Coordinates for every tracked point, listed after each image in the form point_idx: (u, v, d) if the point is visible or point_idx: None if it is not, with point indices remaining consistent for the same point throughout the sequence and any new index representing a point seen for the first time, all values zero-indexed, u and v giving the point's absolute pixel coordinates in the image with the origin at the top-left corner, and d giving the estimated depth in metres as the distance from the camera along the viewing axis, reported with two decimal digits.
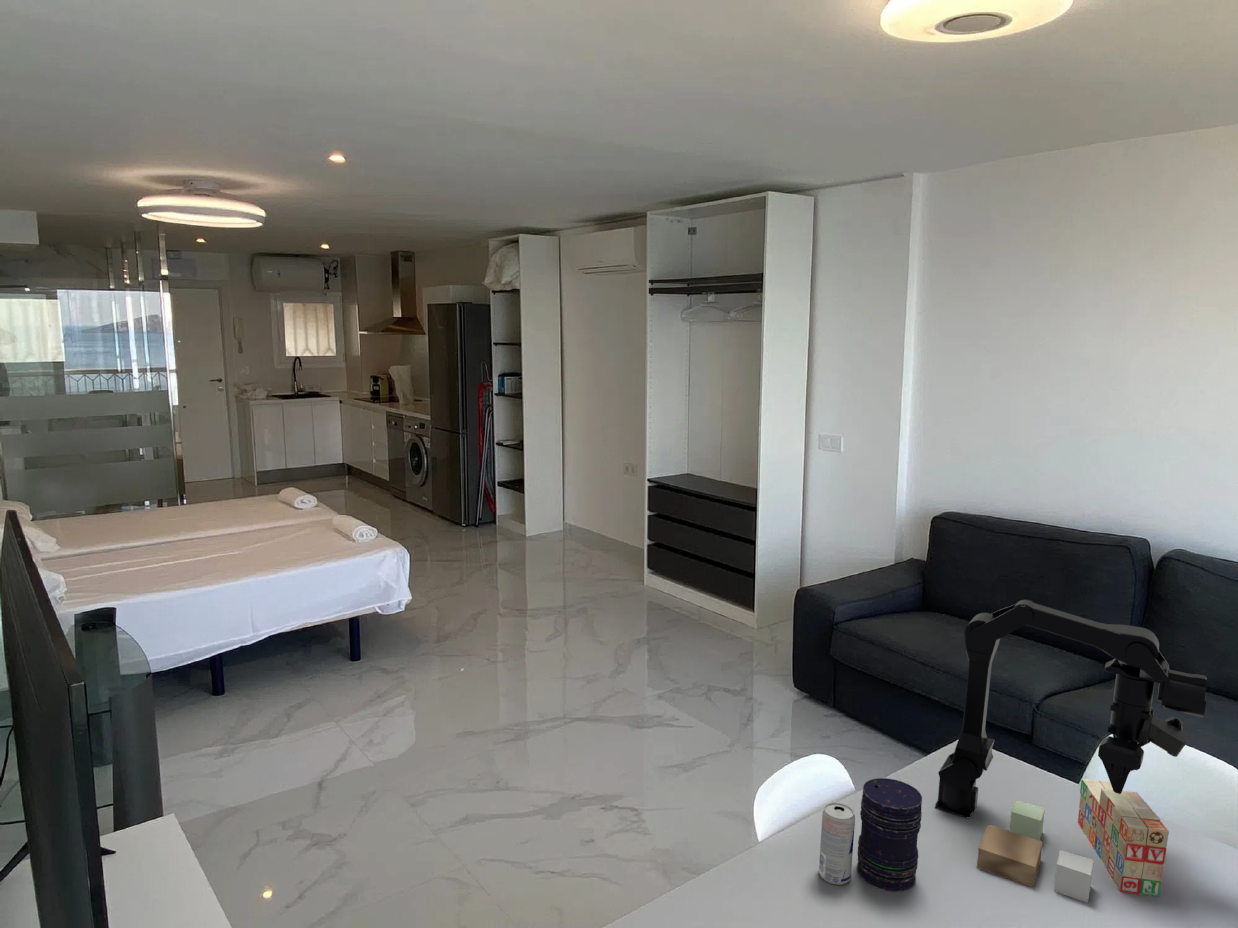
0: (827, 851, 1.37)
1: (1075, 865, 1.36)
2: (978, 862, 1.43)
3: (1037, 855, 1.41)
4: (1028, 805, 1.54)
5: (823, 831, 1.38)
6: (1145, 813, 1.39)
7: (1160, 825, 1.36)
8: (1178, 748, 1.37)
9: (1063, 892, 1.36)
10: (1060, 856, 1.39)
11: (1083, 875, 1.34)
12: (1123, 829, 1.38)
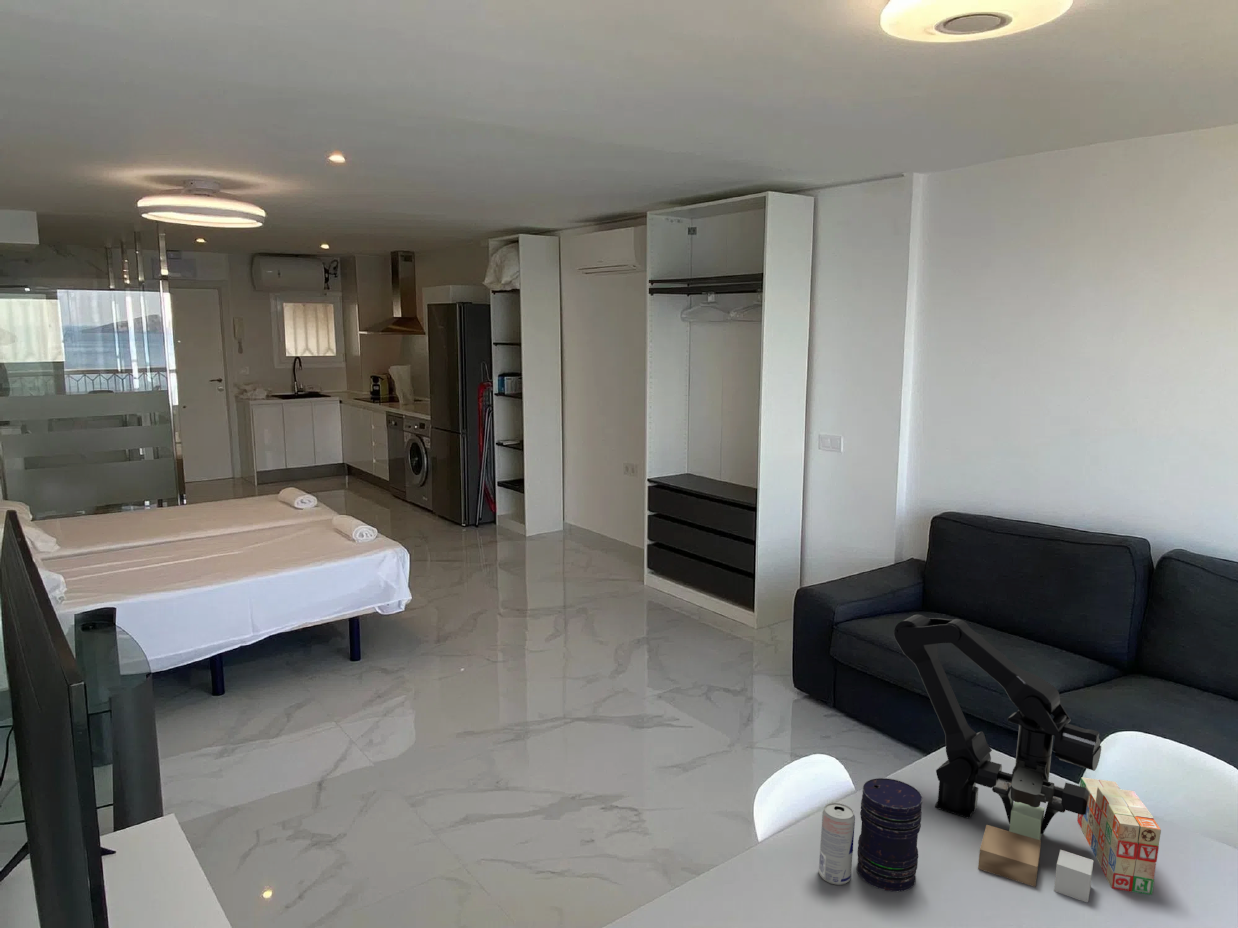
0: (827, 851, 1.37)
1: (1075, 865, 1.36)
2: (979, 863, 1.42)
3: (1037, 854, 1.41)
4: None
5: (823, 831, 1.38)
6: (1139, 811, 1.40)
7: (1153, 823, 1.37)
8: (1011, 791, 1.47)
9: (1063, 892, 1.36)
10: (1060, 856, 1.39)
11: (1083, 875, 1.34)
12: (1115, 826, 1.38)
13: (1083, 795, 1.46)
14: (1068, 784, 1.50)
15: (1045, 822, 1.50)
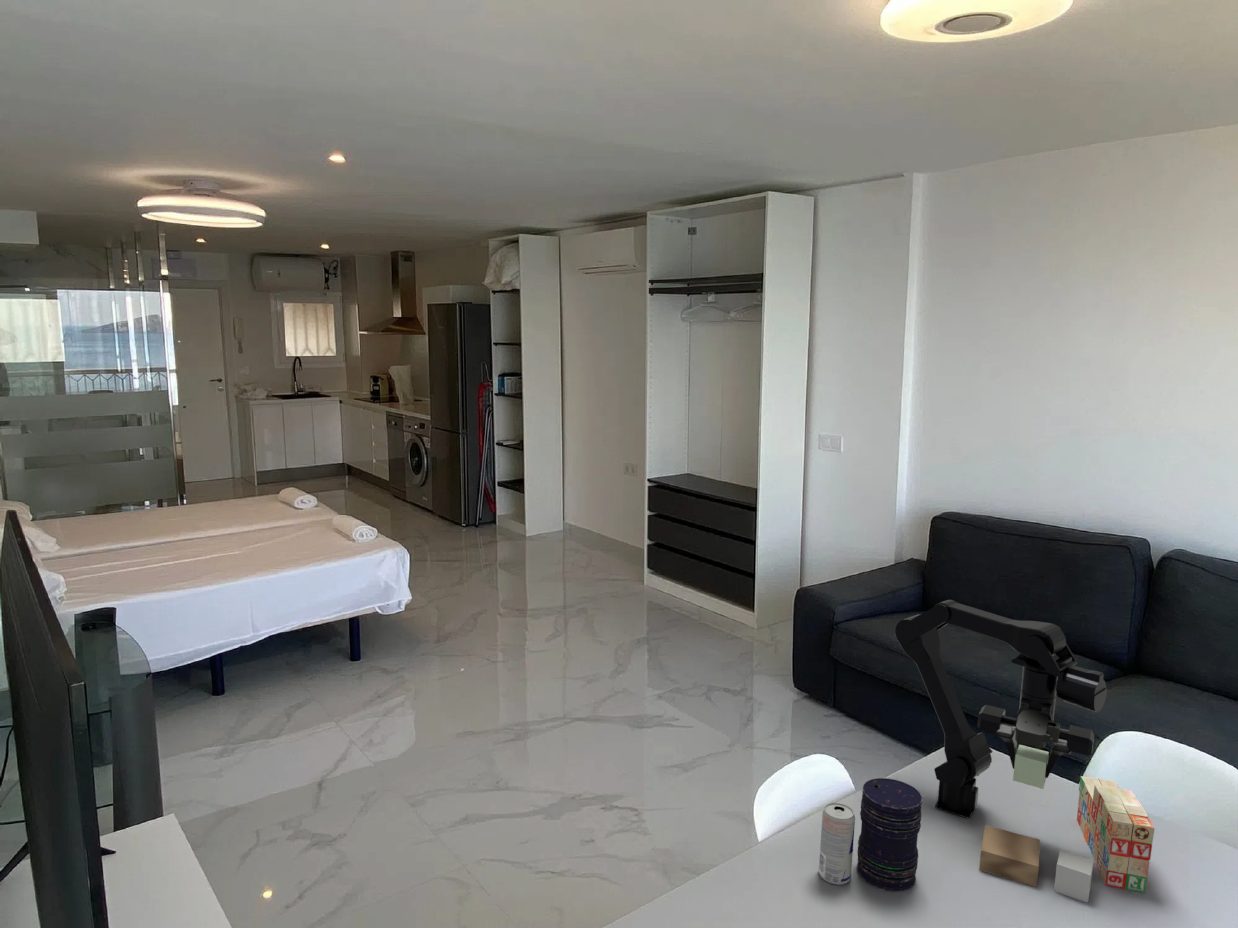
0: (827, 851, 1.37)
1: (1075, 865, 1.36)
2: (980, 864, 1.42)
3: (1038, 854, 1.41)
4: (1032, 749, 1.52)
5: (823, 831, 1.38)
6: (1133, 810, 1.40)
7: (1147, 822, 1.37)
8: (1016, 733, 1.44)
9: (1063, 892, 1.36)
10: (1060, 856, 1.39)
11: (1083, 875, 1.34)
12: (1109, 824, 1.39)
13: (1089, 736, 1.44)
14: (1073, 726, 1.47)
15: (1050, 765, 1.47)
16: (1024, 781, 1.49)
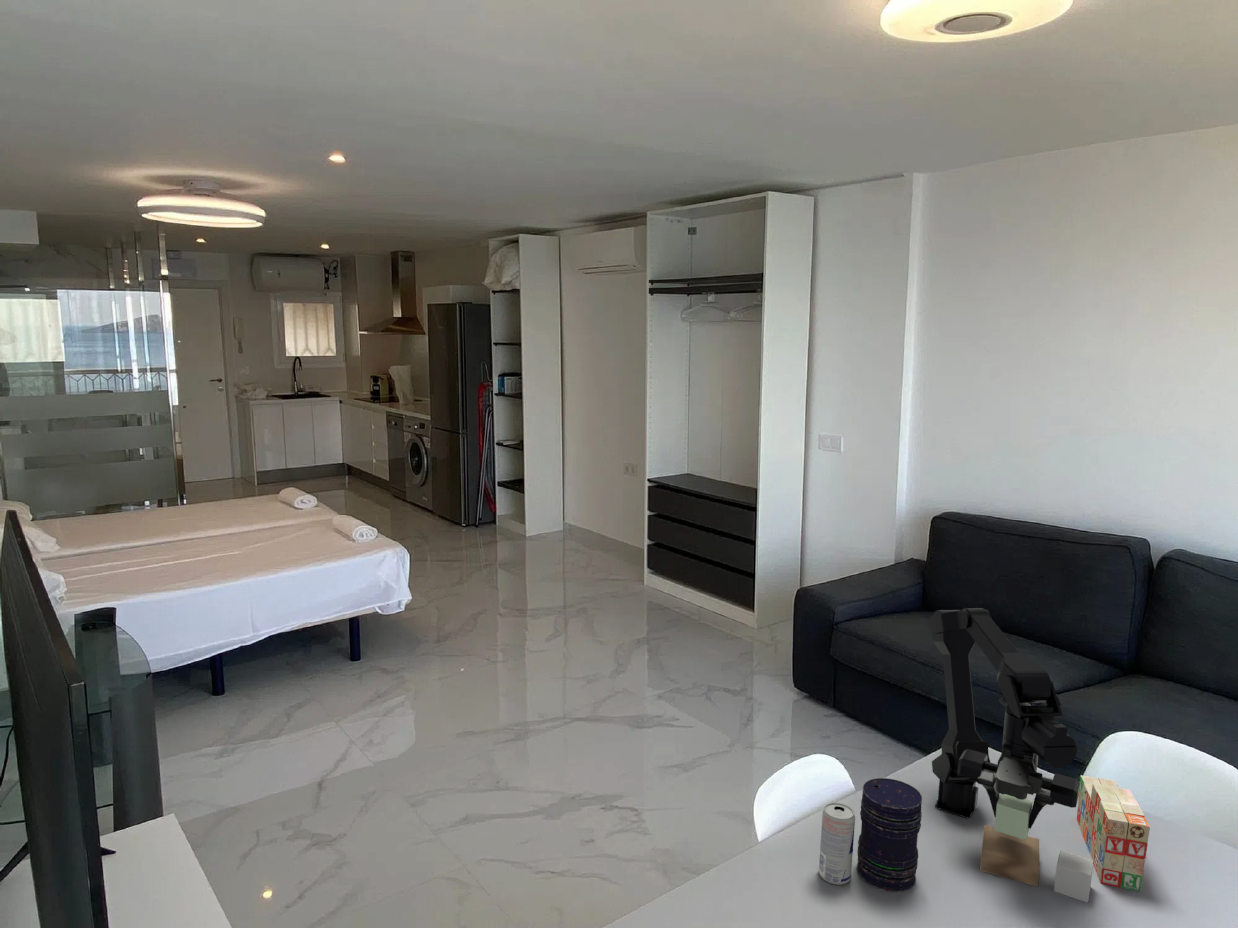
0: (827, 851, 1.37)
1: (1075, 865, 1.36)
2: (981, 865, 1.42)
3: (1038, 854, 1.41)
4: (1015, 797, 1.44)
5: (823, 831, 1.38)
6: (1130, 809, 1.41)
7: (1142, 820, 1.37)
8: (996, 782, 1.37)
9: (1063, 892, 1.36)
10: (1060, 856, 1.39)
11: (1083, 875, 1.34)
12: (1105, 822, 1.40)
13: (1073, 787, 1.36)
14: (1058, 775, 1.40)
15: (1033, 816, 1.40)
16: (1006, 831, 1.42)
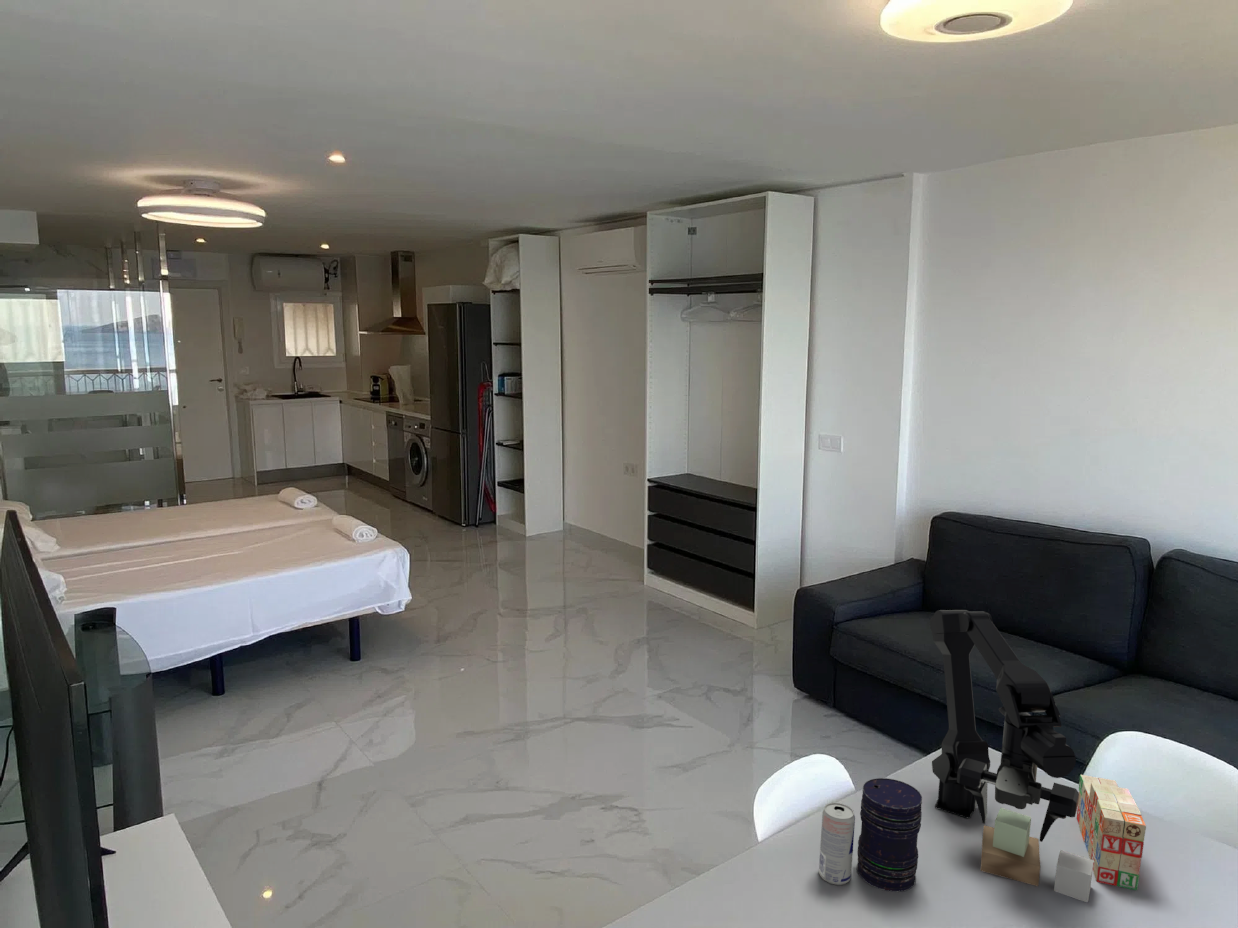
0: (827, 851, 1.37)
1: (1075, 865, 1.36)
2: (982, 865, 1.42)
3: (1038, 853, 1.41)
4: (1014, 813, 1.45)
5: (823, 831, 1.38)
6: (1127, 808, 1.41)
7: (1139, 819, 1.38)
8: (995, 792, 1.37)
9: (1063, 892, 1.36)
10: (1060, 856, 1.39)
11: (1083, 875, 1.34)
12: (1101, 821, 1.40)
13: (1072, 796, 1.36)
14: (1057, 784, 1.40)
15: (1044, 829, 1.39)
16: (1004, 848, 1.42)
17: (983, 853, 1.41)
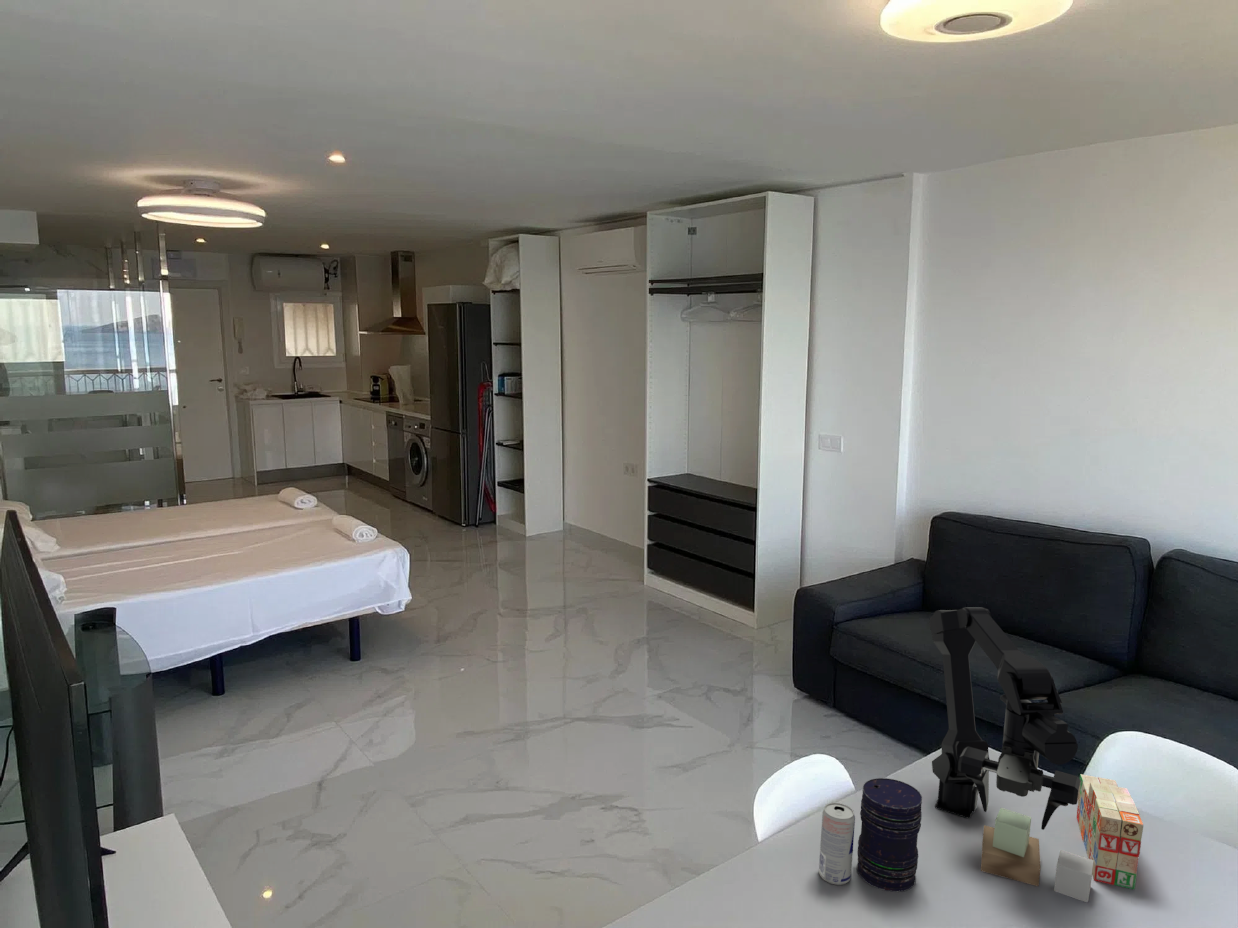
0: (827, 851, 1.37)
1: (1075, 865, 1.36)
2: (982, 865, 1.42)
3: (1038, 854, 1.41)
4: (1014, 813, 1.44)
5: (823, 831, 1.38)
6: (1125, 807, 1.41)
7: (1137, 819, 1.38)
8: (997, 779, 1.37)
9: (1063, 892, 1.36)
10: (1060, 856, 1.39)
11: (1083, 875, 1.34)
12: (1099, 819, 1.40)
13: (1074, 783, 1.36)
14: (1058, 772, 1.40)
15: (1046, 817, 1.39)
16: (1004, 848, 1.42)
17: (983, 853, 1.41)
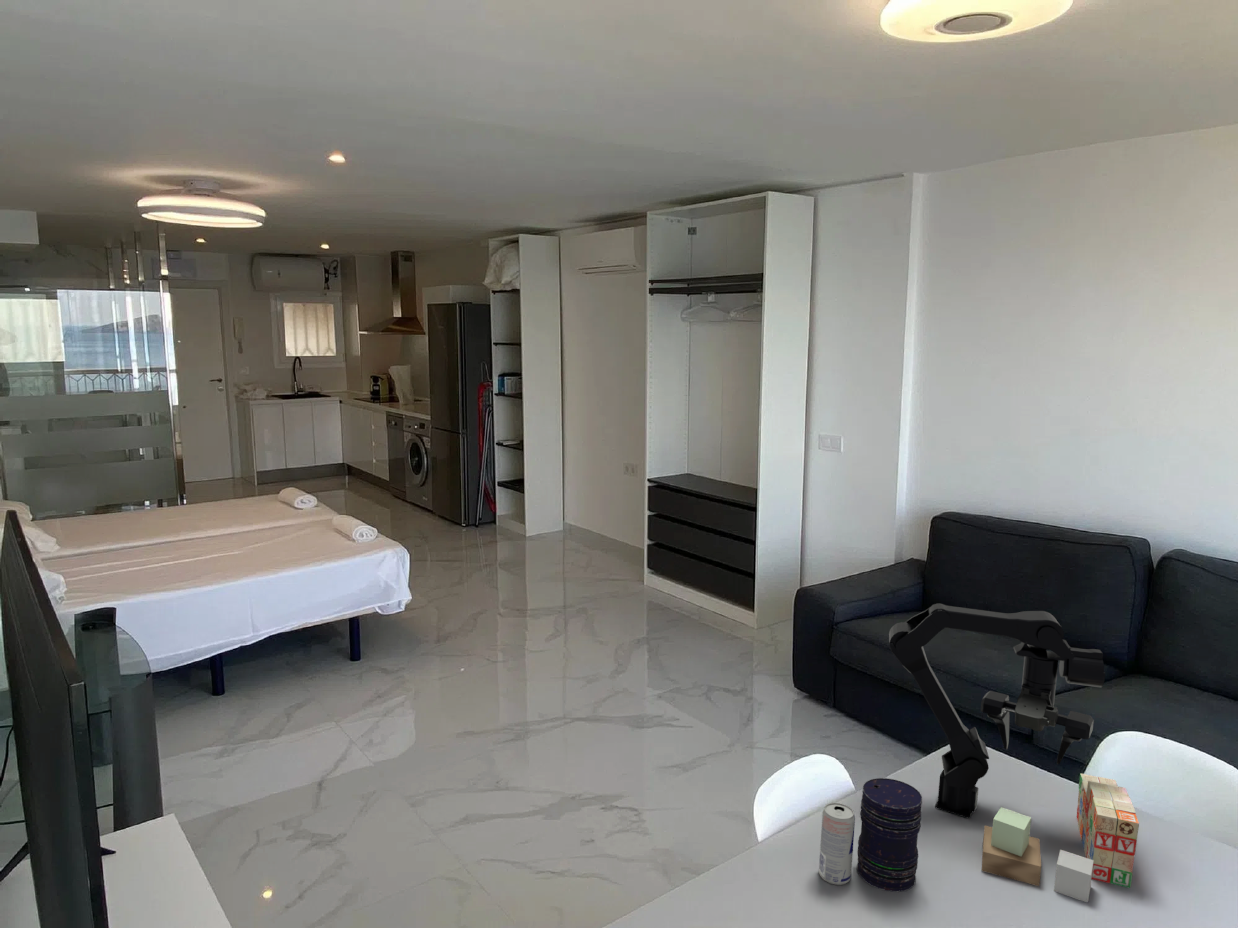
0: (827, 851, 1.37)
1: (1075, 865, 1.36)
2: (983, 865, 1.42)
3: (1039, 853, 1.41)
4: (1013, 813, 1.45)
5: (823, 831, 1.38)
6: (1122, 806, 1.41)
7: (1133, 817, 1.38)
8: (1015, 716, 1.51)
9: (1063, 892, 1.36)
10: (1060, 856, 1.39)
11: (1083, 875, 1.34)
12: (1095, 818, 1.41)
13: (1087, 721, 1.49)
14: (1073, 712, 1.53)
15: (1061, 752, 1.53)
16: (1002, 847, 1.42)
17: (984, 853, 1.41)
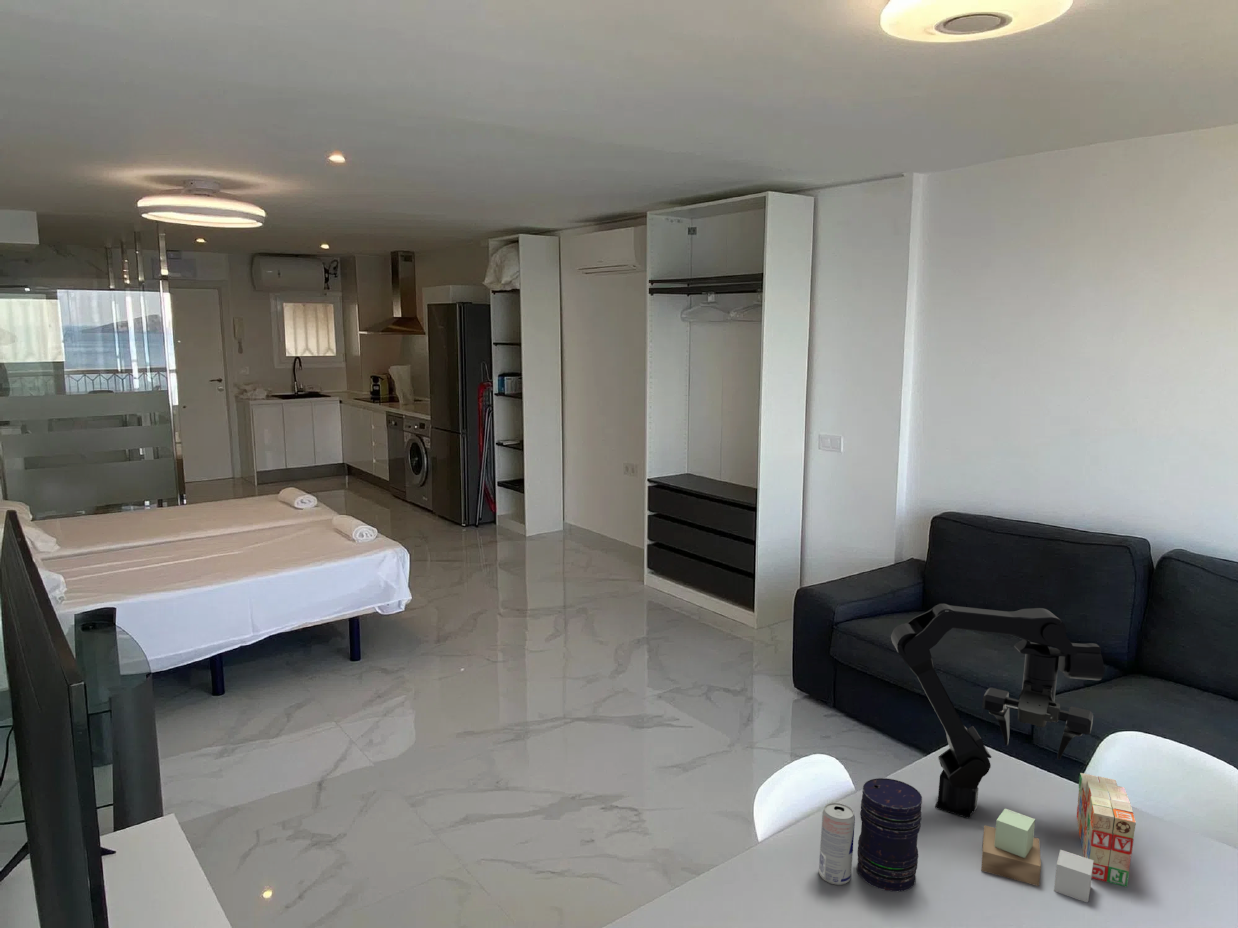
0: (827, 851, 1.37)
1: (1075, 865, 1.36)
2: (982, 865, 1.42)
3: (1038, 853, 1.41)
4: (1017, 814, 1.44)
5: (823, 831, 1.38)
6: (1119, 805, 1.42)
7: (1130, 816, 1.39)
8: (1018, 712, 1.52)
9: (1063, 892, 1.36)
10: (1060, 856, 1.39)
11: (1083, 875, 1.34)
12: (1092, 816, 1.41)
13: (1087, 716, 1.52)
14: (1073, 707, 1.55)
15: (1062, 747, 1.55)
16: (1005, 848, 1.42)
17: (984, 853, 1.42)
